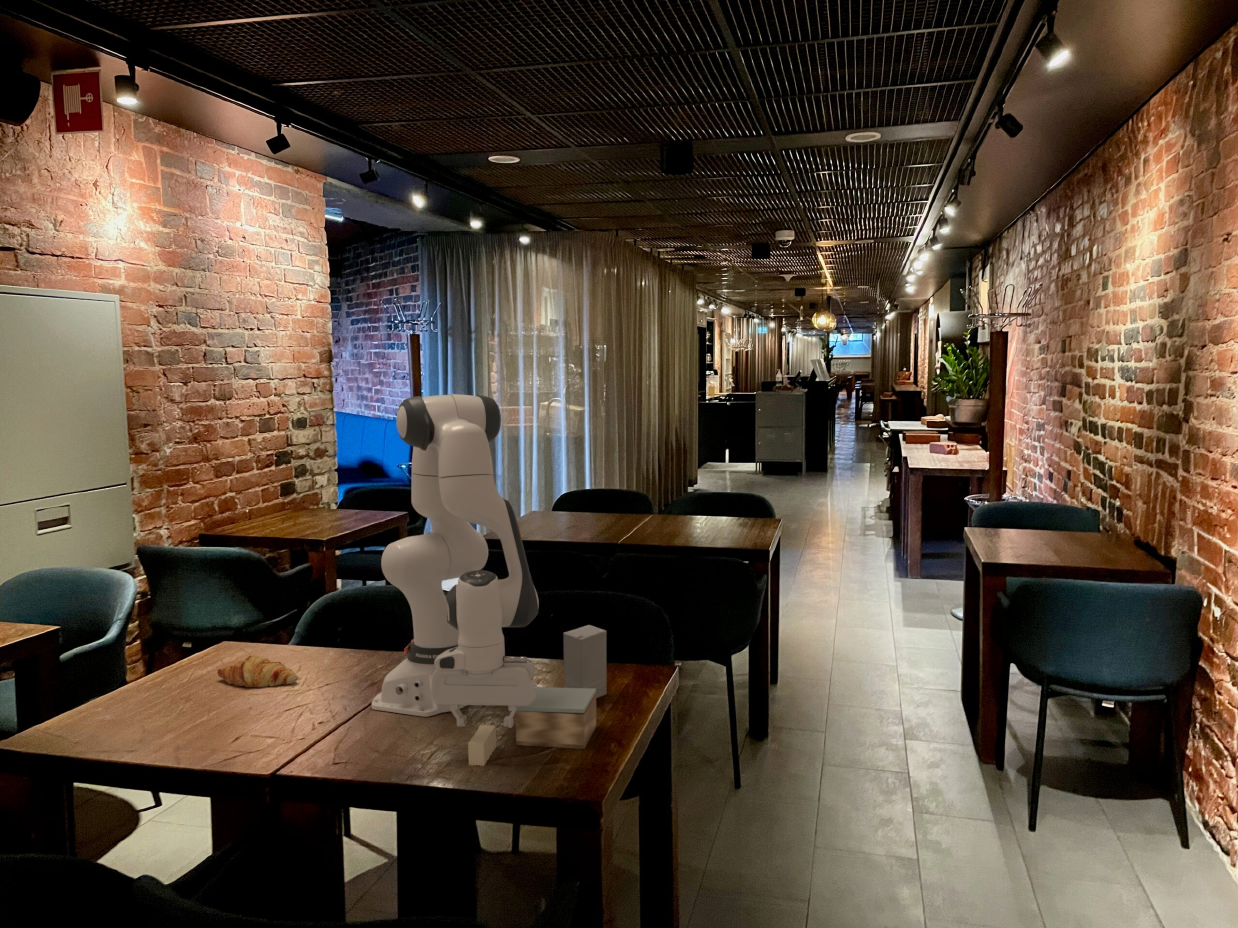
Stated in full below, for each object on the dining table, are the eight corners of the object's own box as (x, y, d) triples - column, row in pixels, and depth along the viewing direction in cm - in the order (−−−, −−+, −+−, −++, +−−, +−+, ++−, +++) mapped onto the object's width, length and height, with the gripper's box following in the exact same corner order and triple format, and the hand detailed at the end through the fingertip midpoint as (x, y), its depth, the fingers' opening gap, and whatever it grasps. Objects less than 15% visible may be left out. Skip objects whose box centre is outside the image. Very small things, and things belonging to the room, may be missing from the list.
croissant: (304, 694, 226) (310, 661, 229) (285, 688, 217) (292, 654, 220) (224, 689, 229) (232, 657, 232) (202, 682, 220) (210, 649, 223)
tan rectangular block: (468, 765, 175) (468, 742, 175) (481, 746, 184) (481, 725, 184) (484, 766, 175) (483, 743, 174) (496, 747, 184) (495, 725, 183)
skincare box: (588, 688, 217) (587, 623, 215) (609, 696, 212) (608, 629, 210) (561, 697, 211) (560, 630, 209) (582, 705, 206) (581, 636, 204)
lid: (510, 710, 184) (510, 706, 184) (526, 690, 196) (526, 686, 196) (583, 712, 181) (583, 708, 181) (596, 692, 193) (595, 688, 193)
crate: (516, 744, 184) (515, 710, 184) (532, 722, 196) (531, 690, 195) (584, 748, 182) (583, 714, 181) (596, 726, 194) (596, 693, 193)
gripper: (538, 651, 179) (541, 721, 180) (437, 651, 182) (441, 719, 183) (529, 661, 172) (533, 733, 173) (426, 660, 176) (429, 730, 177)
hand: (485, 726), depth 178 cm, fingers open, 8 cm apart
